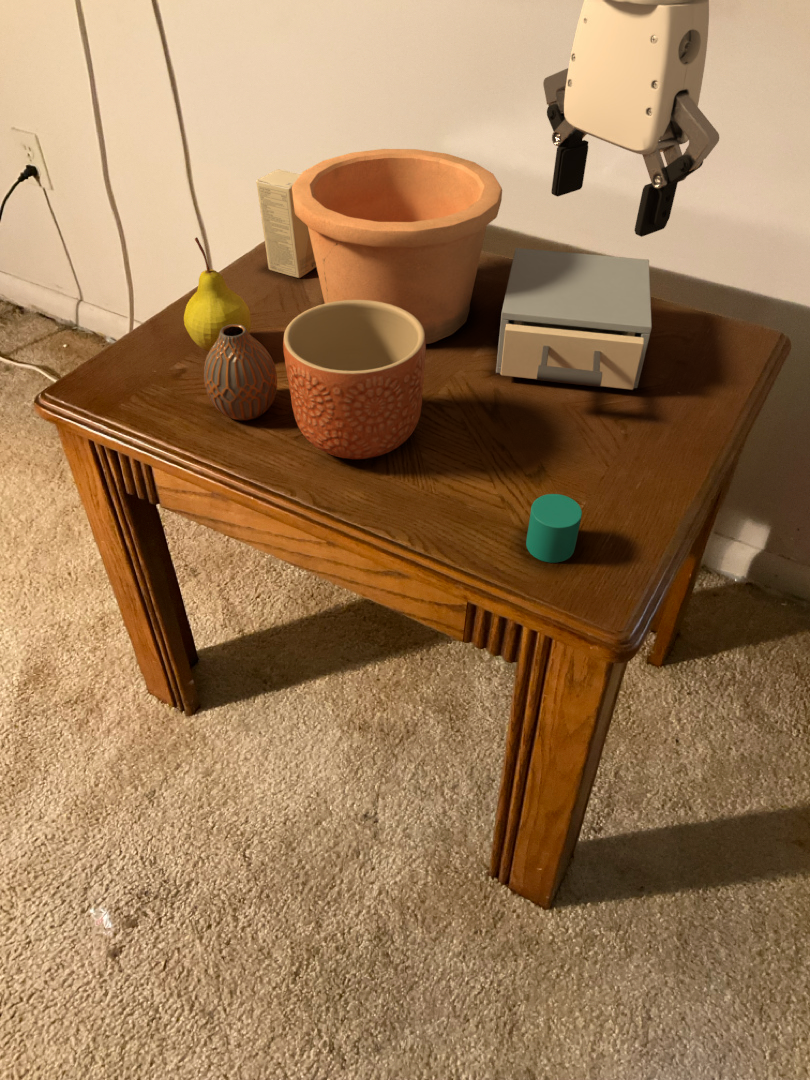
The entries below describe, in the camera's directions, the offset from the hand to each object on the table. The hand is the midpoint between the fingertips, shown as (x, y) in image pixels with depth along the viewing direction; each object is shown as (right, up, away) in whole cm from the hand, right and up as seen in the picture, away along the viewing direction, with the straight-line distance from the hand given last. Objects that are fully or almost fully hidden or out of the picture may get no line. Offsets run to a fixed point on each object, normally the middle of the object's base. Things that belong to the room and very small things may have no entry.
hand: (606, 211), depth 69 cm
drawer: (0, -9, +17) cm, 19 cm away
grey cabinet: (+1, -6, +21) cm, 22 cm away
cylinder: (-5, -28, -1) cm, 29 cm away
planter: (-21, -18, +9) cm, 30 cm away
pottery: (-18, -1, +26) cm, 32 cm away
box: (-31, +6, +34) cm, 46 cm away
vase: (-33, -15, +12) cm, 38 cm away
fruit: (-37, -7, +20) cm, 43 cm away
